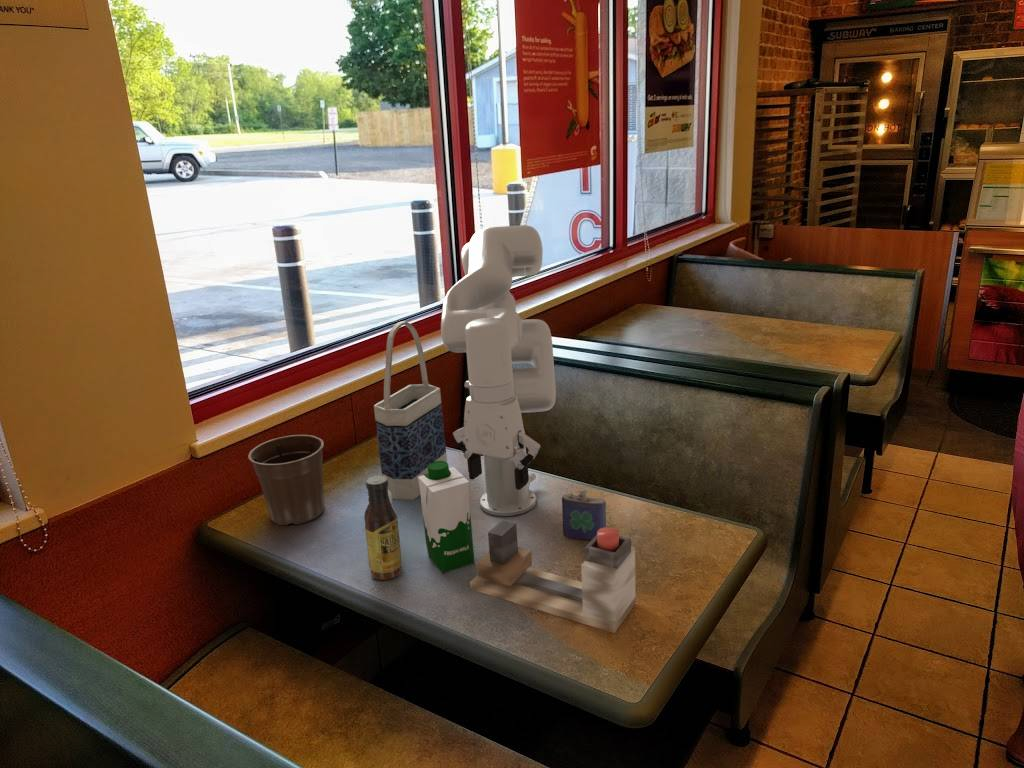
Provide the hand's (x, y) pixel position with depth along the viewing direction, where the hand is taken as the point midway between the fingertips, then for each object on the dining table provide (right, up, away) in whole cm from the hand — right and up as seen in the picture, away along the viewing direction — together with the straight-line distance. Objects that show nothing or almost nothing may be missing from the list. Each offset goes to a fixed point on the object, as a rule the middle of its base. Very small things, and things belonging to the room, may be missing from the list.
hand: (498, 481), depth 136 cm
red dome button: (+19, -10, -8) cm, 23 cm away
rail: (+9, -21, +3) cm, 23 cm away
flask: (+17, -14, +21) cm, 31 cm away
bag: (-21, -7, +50) cm, 55 cm away
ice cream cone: (-25, -15, +26) cm, 39 cm away
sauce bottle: (-22, -20, +13) cm, 32 cm away
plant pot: (-47, -12, +39) cm, 62 cm away
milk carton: (-10, -18, +16) cm, 26 cm away
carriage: (+1, -17, +6) cm, 19 cm away
